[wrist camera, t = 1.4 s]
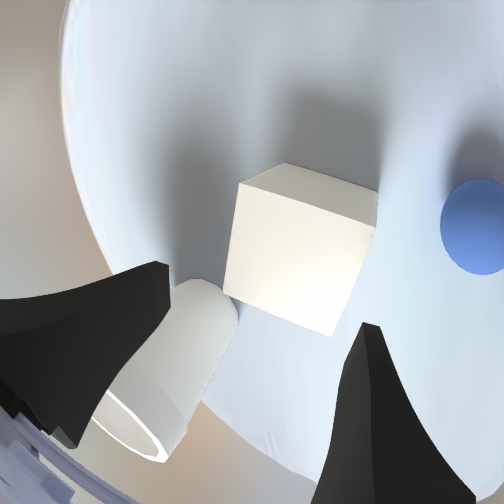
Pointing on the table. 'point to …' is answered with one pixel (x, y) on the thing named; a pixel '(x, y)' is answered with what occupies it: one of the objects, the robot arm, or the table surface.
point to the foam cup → (169, 372)
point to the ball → (475, 226)
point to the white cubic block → (299, 244)
